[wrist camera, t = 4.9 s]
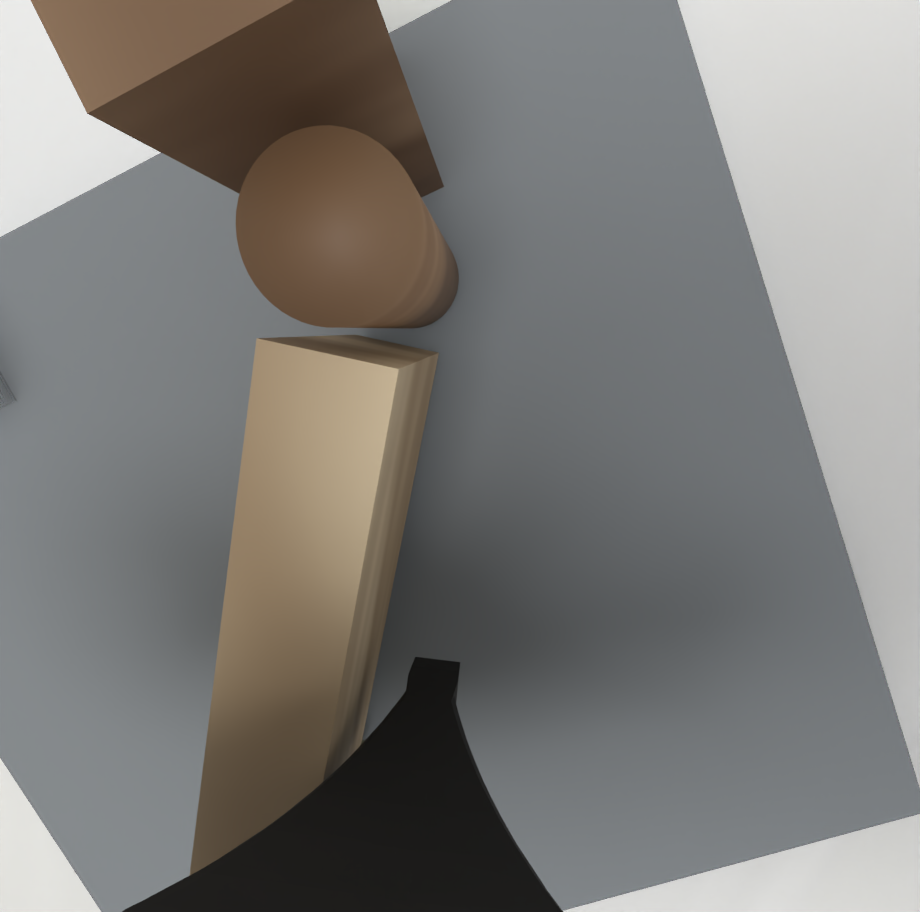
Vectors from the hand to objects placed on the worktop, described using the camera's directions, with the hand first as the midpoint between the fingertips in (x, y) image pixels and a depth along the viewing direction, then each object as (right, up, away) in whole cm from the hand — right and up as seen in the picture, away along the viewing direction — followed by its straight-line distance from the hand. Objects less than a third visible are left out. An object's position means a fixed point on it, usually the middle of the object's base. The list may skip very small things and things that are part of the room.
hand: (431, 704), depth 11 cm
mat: (-2, +2, +2) cm, 3 cm away
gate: (-1, +3, +1) cm, 3 cm away
